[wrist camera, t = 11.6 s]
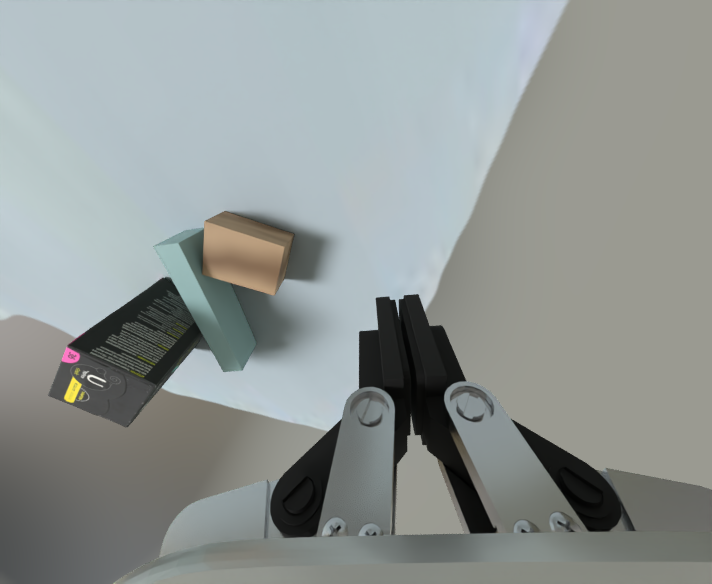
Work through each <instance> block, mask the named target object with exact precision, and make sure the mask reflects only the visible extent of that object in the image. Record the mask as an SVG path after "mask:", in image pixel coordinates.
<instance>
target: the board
mask: <svg viewBox="0 0 712 584" xmlns="http://www.w3.org/2000/svg"><path fill="white" fill-rule="evenodd" d="M203 246H204V228H200V229H192V230H185V231H183V232H181V233H179V234H177V235H175V236H173V237H171V238H169V239H167V240H165V241H163V242H161V243H159V244H157V245H155V246H153V247H154V249H155V250H156V252H157V254H158V256H159V258H160V259H161V261H162V263H163V265H164V266H165V268H166V270H167V272H168V274H169V275H170V277H171V279H172V281H173V283H174V284H175V286H176V288H177V290H178V292H179V293H180V295H181V297H182V299H183V300H184V302H185V304H186V306H187V308H188V309H189V311H190V313H191V315H192V317H193V318H194V320H195V322H196V324H197V326H198V327H199V329H200V331H201V333H202V334H203V336H204V338H205V340H206V342H207V343H208V345H209V347H210V349H211V351H212V352H213V354H214V356H215V358H216V360H217V361H218V363H219V365H220V367H221V369H222V370H223V372H230V371H242V370H243V368H244V366H245V365H246V363H247V361H248V359H249V357H250V355H251V353H252V351H253V350H254V348H255V346H256V344H257V343H256V340H255V338H254V336H253V333H252V331H251V329H250V326H249V324H248V322H247V319H246V317H245V315H244V313H243V310H242V308H241V306H240V303H239V301H238V299H237V296H236V294H235V292H234V289H233V287H232V285H231V283H229V282H226V281H222V280H219V279H216V278H212V277H209V276H205V275H202V271H203Z"/></svg>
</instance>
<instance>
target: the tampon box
mask: <svg viewBox="0 0 712 584" xmlns="http://www.w3.org/2000/svg"><path fill="white" fill-rule="evenodd" d="M202 336H203V334H202V333H201V331H200V329H199V327H198V326H197V324H196V322H195V320H194V318H193V317H192V315H191V313H190V311H189V309H188V308H187V306H186V304H185V302H184V300H183V299H182V297H181V295H180V293H179V292H178V290H177V288H176V286H175V285H174V284H173V283H171V282H169V281H168V280H166V279H164V278H161V279H160V280H159V281H157V282H156V283H155V284H153V285H152V286H151V287H149V288H148V289H146V290H145V291H144V292H142V293H141V294H139V295H138V296H137V297H135V298H134V299H132V300H131V301H129V302H128V303H127V304H125V305H124V306H122V307H121V308H119V309H118V310H116V311H115V312H113V313H112V314H110V315H109V316H107V317H106V318H105V319H103V320H102V321H100V322H99V323H97V324H96V325H94V326H93V327H92V328H90V329H89V330H87V331H86V332H85V333H83V334H82V335H80V336H79V337H78V338H76V339H75V340H74V341H72V342H71V343H70V344H69V345H67V347H66V350H65V353H64V356H63V358H62V361H61V363H60V366H59V369H58V371H57V374H56V376H55V379H54V382H53V384H52V386H51V389H50V392H49V394H48V396H50V397H53V398H55V399H58V400H60V401H63V402H65V403H68V404H70V405H73V406H75V407H77V408H80V409H82V410H84V411H87V412H89V413H91V414H94V415H97V416H100V417H103V418H105V419H108V420H110V421H112V422H115V423H118V424H120V425H122V426H124V427H128V426H129V425H130V424H131V423H132V422H133V420H134V419H135V418H136V417H137V416H138V414H139V413H140V412H141V411H142V410H143V409H144V407H145V406H146V405H147V404H148V403H149V401H150V400H151V399H152V398H153V397H154V395H155V394H156V393H157V392H158V391H159V389H160V388H161V387H162V386H163V385H164V383H165V382H166V381H167V380H168V379H169V377H170V376H171V375H172V374H173V373H174V371H175V370H176V369H177V368H178V367H179V365H180V364H181V363H182V362H183V361H184V360H185V358H186V357H187V356H188V355H189V354H190V352H191V351H192V350H193V349H194V348H195V346H196V345H197V344H198V342H199V341H200V339H201V338H202Z"/></svg>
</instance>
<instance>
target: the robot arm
mask: <svg viewBox="0 0 712 584" xmlns="http://www.w3.org/2000/svg"><path fill="white" fill-rule="evenodd" d="M376 306H377V319H378V330H371V331H360V332H359V389H358V390H357V391H355V392H354V393H352V394H351V395H350V397H349V398H348V399H347V401H346V404H345V407H344V411H343V416H342V419H341V420H340V421H339V422H338V423H337V424H336V425H335V426H334V427H333V428H332V429H331V430H330V431H329V432H327V433H326V435H324V436H323V437H322V438H321V439H320V440H319V441H318V442H317V443H316V444H315V445H314V446H313V447H312V448H311V449H310V450H309V451H308V452H306V453H305V454H304V456H302V457H301V458H300V459H299V460H298V461H297V462H296V463H295V464H294V465H293V466H292V467H291V468H290V469H289V470H288V471H287V472H285V473H284V475H283V476H282V477H281V478H280V479H278V480H275V481H272V482H268V480H264V481H261V482H257V483H254V484H251V485H248V486H244V487H241V488H238V489H235V490H231V491H228V492H225V493H221V494H218V495H215V496H211V497H208V498H205V499H202V500H198V501H196V502H194V503H192V504H190V505H189V506H187V507H186V508H185V509H184V510H183V511H182V512H180V513H179V514H178V515H177V517H176V518H175V520H174V521H173V522H172V524H171V525H170V527H169V529H168V532H167V533H166V536H165V538H164V541H163V544H162V547H161V551H160V554H159V557H158V559H156V560H153V561H151V562H149V563H147V564H145V565H143V566H141V567H139V568H137V569H136V570H134V571H132V572H130V573H128V574H127V575H125V576H123V577H122V578H120V579H119V580H117V581H116V582H115V583H113V584H712V490H711V489H708V488H704V487H702V486H697V485H692V484H687V483H682V482H676V481H671V480H666V479H661V478H656V477H650V476H645V475H640V474H635V473H629V472H624V471H619V470H614V469H608V468H605V469H604V470H603V471H599V470H595V469H594V468H592V467H590V466H589V465H588V464H587V463H585V462H583V461H582V460H580V459H578V458H577V457H575V456H573V455H572V454H570V453H568V452H567V451H565V450H563V449H561V448H559V447H558V446H556V445H555V444H553V443H551V442H550V441H548V440H546V439H544V438H543V437H541V436H539V435H538V434H536V433H534V432H532V431H531V430H529V429H527V428H526V427H524V426H522V425H520V424H519V423H517V422H515V421H514V420H512V419H510V417H509V416H508V414H507V413H506V412H505V410H504V409H503V407H502V406H501V405H500V403H499V401H498V400H497V399H496V397H495V396H494V395H493V394H492V393H491V392H490V391H489V390H487V389H486V388H485V387H483V386H480V385H478V384H476V383H472V382H467V381H466V380H465V377H464V375H463V372H462V370H461V368H460V365H459V363H458V360H457V358H456V356H455V353H454V351H453V349H452V346H451V344H450V342H449V339H448V337H447V335H446V332H445V330H444V328H443V327H442V326H441V325H440V326H429V323H428V320H427V317H426V315H425V312H424V309H423V306H422V303H421V301H420V298H419V295H418V294H416V295H404V299H399V317H398V312H397V307H396V302H395V300H390V298H389V297H378V298H376ZM411 416H412V422H413V428H414V433H415V435H421V439H422V445H427V450H428V451H429V452H430V453H432V454H433V455H434V456H436V457H437V459H438V464H439V467H440V469H441V472H442V475H443V478H444V480H445V483H446V486H447V488H448V491H449V493H450V496H451V499H452V501H453V504H454V507H455V510H456V512H457V515H458V517H459V520H460V523H461V525H462V528H463V531H464V533H465V534H433V535H396V534H395V533H396V495H397V463H398V462H399V461H400V460H401V458H402V457H403V456H404V455H405V453H406V452H407V435H410V417H411Z"/></svg>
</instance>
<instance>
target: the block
mask: <svg viewBox="0 0 712 584" xmlns="http://www.w3.org/2000/svg"><path fill="white" fill-rule="evenodd" d="M293 238H294V234H292V233H289V232H286V231H283V230H280V229H277V228H274V227H271V226H268V225H265V224H262V223H259V222H256V221H253V220H250V219H247V218H244V217H241V216H238V215H235V214H232V213H229V212H226V211H224V212H222V213H220V214H218V215H216V216H214V217H212V218H210V219H208V220H206V221H204V246H203V271H202V275H205V276H209V277H212V278H216V279H219V280H222V281H226V282H229V283H233V284H236V285H239V286H243V287H246V288H250V289H253V290H257V291H260V292H263V293H267V294H270V295H275V294H276V292H277V290H278V289H279V287H280V285H281V283H282V282H283V280H284V278H285V273H286V269H287V264H288V260H289V255H290V251H291V247H292V242H293Z"/></svg>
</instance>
